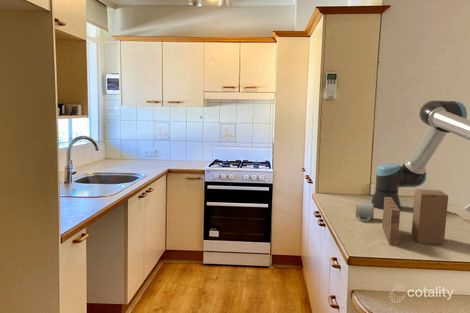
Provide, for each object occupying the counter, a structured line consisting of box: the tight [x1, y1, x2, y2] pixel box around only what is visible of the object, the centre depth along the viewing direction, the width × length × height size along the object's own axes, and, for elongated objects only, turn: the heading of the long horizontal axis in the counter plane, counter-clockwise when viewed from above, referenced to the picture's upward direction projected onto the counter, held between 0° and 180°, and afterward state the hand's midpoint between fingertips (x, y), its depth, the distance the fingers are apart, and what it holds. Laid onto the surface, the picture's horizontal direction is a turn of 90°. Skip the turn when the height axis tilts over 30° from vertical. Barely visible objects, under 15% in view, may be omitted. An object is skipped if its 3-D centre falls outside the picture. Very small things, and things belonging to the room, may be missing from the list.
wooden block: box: [411, 188, 449, 245], centre depth 158 cm, size 10×10×20 cm
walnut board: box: [381, 197, 401, 247], centre depth 162 cm, size 24×3×14 cm, turn 165°
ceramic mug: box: [355, 202, 375, 223], centre depth 186 cm, size 11×8×8 cm
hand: (467, 210), depth 153 cm, fingers closed
